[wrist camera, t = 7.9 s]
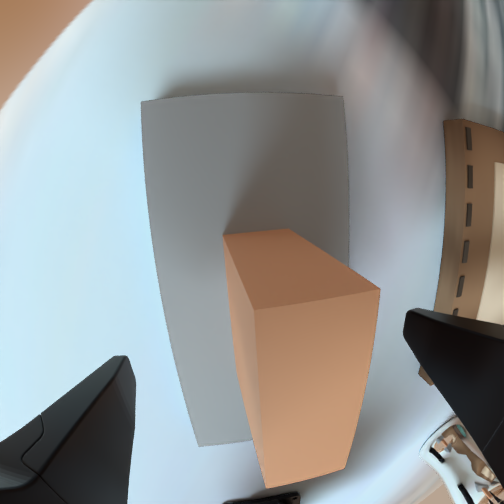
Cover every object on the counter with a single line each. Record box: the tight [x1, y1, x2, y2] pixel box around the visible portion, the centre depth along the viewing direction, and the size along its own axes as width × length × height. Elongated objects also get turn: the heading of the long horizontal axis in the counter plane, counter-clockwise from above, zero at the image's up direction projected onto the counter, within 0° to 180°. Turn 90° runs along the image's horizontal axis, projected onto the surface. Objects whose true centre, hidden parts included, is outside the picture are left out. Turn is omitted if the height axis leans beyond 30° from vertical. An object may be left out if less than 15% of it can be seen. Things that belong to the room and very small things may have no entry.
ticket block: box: [418, 119, 504, 386], centre depth 15 cm, size 16×11×2 cm
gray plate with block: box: [141, 92, 380, 489], centre depth 9 cm, size 16×7×8 cm, turn 4°
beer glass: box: [419, 417, 504, 504], centre depth 14 cm, size 7×7×15 cm
